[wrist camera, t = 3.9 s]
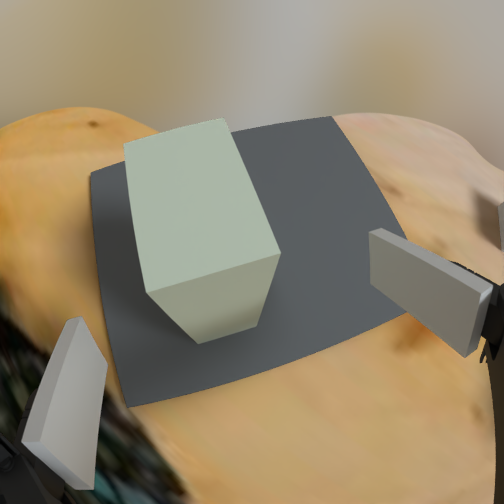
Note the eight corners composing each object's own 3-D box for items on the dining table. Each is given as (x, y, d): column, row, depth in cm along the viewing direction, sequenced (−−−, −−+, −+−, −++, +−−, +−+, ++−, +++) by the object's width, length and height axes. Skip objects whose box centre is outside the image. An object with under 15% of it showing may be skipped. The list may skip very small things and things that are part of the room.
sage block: (198, 344, 19) (146, 292, 8) (175, 262, 21) (123, 143, 10) (256, 326, 20) (280, 252, 9) (228, 246, 22) (223, 117, 11)
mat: (131, 407, 18) (127, 407, 17) (93, 177, 25) (90, 172, 24) (429, 300, 22) (434, 297, 21) (329, 121, 29) (331, 116, 28)
